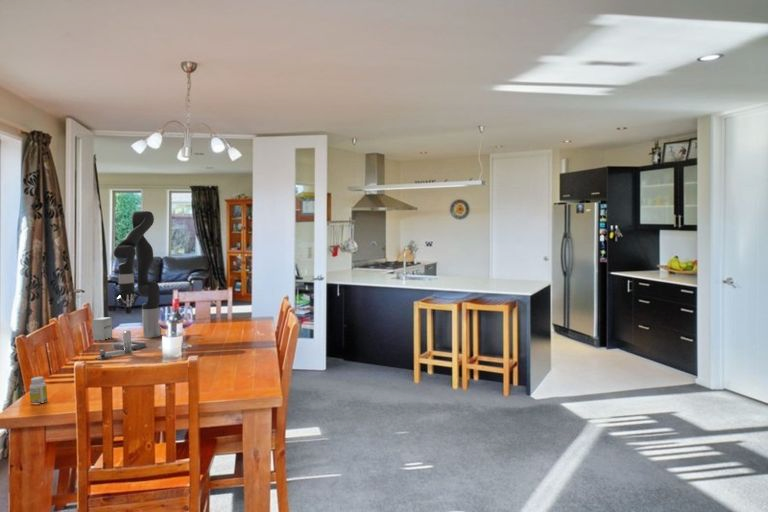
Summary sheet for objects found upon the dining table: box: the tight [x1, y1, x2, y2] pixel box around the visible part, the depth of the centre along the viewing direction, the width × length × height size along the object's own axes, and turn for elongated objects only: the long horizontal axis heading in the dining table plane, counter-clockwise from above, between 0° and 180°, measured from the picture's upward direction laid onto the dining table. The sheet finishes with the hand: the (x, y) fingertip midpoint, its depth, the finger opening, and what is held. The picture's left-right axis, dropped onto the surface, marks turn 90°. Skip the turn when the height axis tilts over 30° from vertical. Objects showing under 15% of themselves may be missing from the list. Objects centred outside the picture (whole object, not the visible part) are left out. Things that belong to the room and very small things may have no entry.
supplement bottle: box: [29, 376, 48, 404], centre depth 195 cm, size 5×5×10 cm
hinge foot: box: [96, 356, 113, 361], centre depth 260 cm, size 6×6×1 cm
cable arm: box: [99, 330, 133, 357], centre depth 264 cm, size 14×4×11 cm, turn 126°
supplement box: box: [92, 316, 113, 342], centre depth 303 cm, size 7×7×13 cm
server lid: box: [113, 340, 147, 351], centre depth 281 cm, size 9×14×2 cm, turn 65°
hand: (128, 313), depth 280 cm, fingers closed
